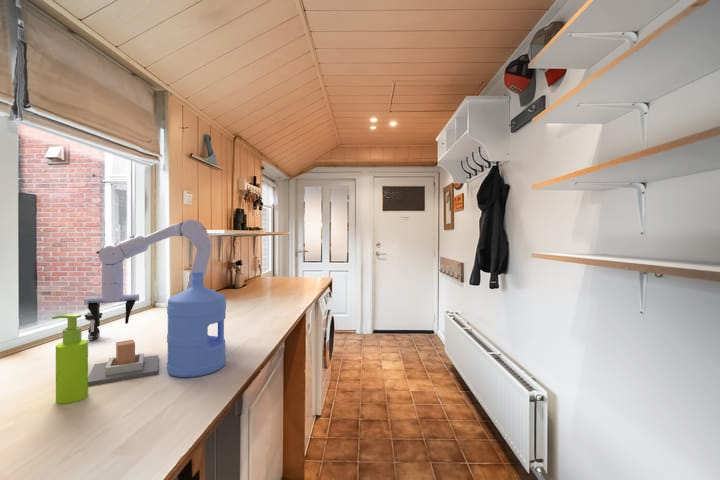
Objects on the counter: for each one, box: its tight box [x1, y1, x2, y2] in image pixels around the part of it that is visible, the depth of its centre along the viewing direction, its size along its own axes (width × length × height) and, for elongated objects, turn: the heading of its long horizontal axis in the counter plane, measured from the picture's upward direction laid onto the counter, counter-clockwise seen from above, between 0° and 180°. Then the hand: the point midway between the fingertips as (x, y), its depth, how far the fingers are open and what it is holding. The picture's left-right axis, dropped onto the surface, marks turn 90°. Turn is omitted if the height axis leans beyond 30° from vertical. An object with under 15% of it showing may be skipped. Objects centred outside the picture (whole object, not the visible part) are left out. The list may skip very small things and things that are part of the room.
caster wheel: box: [83, 310, 103, 341], centre depth 125 cm, size 7×5×10 cm
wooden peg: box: [115, 339, 136, 365], centre depth 98 cm, size 4×4×7 cm
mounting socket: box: [88, 353, 159, 387], centre depth 97 cm, size 16×14×3 cm
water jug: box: [166, 272, 227, 378], centre depth 100 cm, size 16×16×28 cm
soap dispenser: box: [51, 313, 89, 405], centre depth 81 cm, size 6×7×20 cm
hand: (112, 324), depth 111 cm, fingers open, 7 cm apart
